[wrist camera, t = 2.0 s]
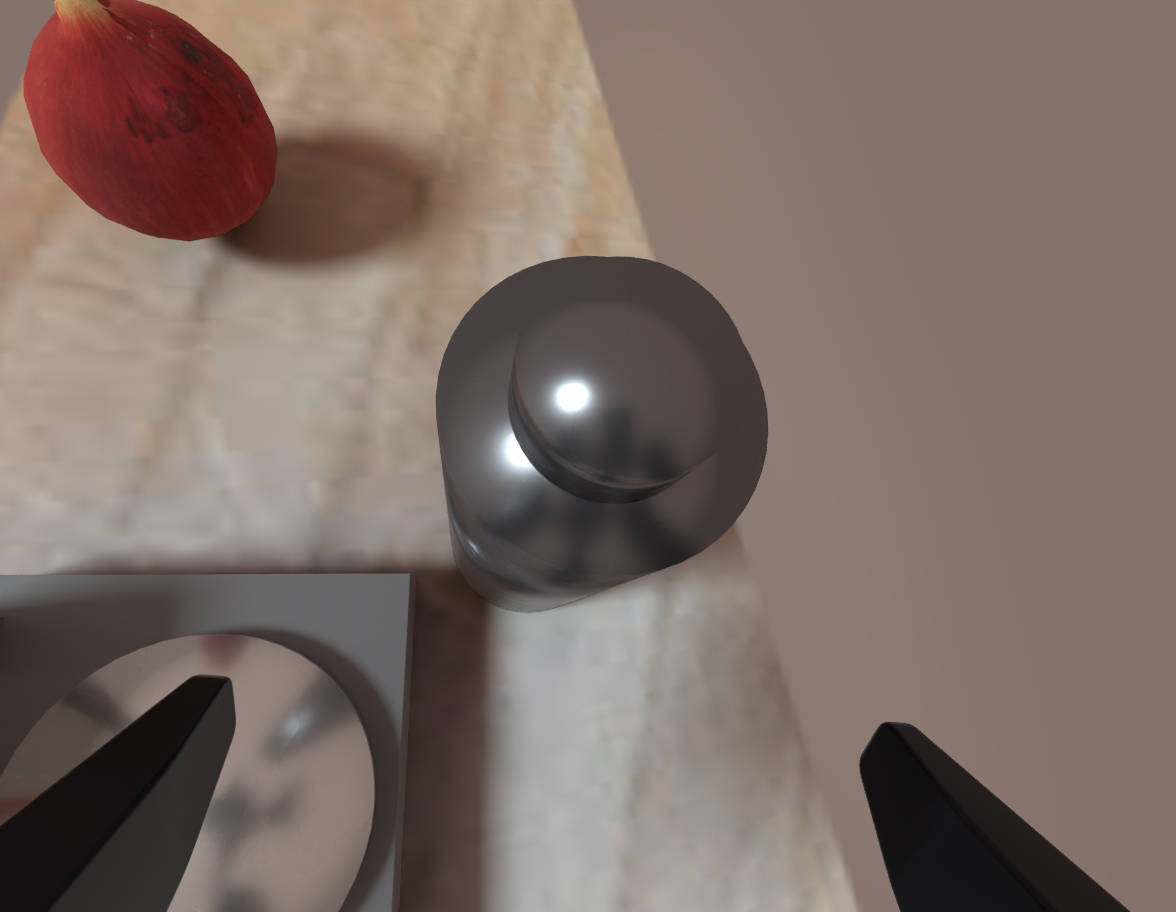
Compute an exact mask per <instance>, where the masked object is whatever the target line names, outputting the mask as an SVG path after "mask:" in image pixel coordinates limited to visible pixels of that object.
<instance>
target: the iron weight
mask: <svg viewBox="0 0 1176 912" xmlns="http://www.w3.org/2000/svg"><path fill="white" fill-rule="evenodd" d="M436 419H437V427H438V436H439V444H440V452H441V460H442V469H443V477H444V485H445V494H446V502H447V510H448V518H449V527H450V535H451V543H452V549H453V555H454V558H455V561H456V564H457V566H458V569H459V571H460V573H461V575H462V576H463V578H464V579H465V581H466V582H467V583H468V585H469V586H470V587H471V588H472V589H473V590H474V591H475V592H476V593H477V594H478V595H479V596H481V597H482V598H483V599H485V600H486V601H488V602H489V603H491V604H494V605H496V606H498V607H500V608H503V609H506V610H510V611H515V612H525V613H531V612H541V611H545V610H550V609H552V608H555V607H558V606H561V605H564V604H566V603H569V602H572V601H575V600H578V599H580V598H583V597H586V596H589V595H592V594H594V593H597V592H600V591H603V590H606V589H608V588H611V587H614V586H617V585H620V584H622V583H625V582H628V581H631V580H634V579H636V578H639V577H642V576H645V575H648V574H650V573H653V572H656V571H659V570H662V569H664V568H667V567H670V566H672V565H675V564H678V563H681V562H683V561H685V560H687V559H688V558H690V557H692V556H694V555H696V554H698V553H700V552H701V551H703V550H704V549H705V548H707V547H708V546H709V545H711V544H712V543H713V542H715V541H716V540H717V539H719V538H720V537H721V536H722V535H723V534H724V533H725V532H726V531H727V530H728V529H729V528H730V527H731V526H732V525H733V523H734V522H735V521H736V519H737V518H738V517H739V515H740V514H741V513H742V511H743V510H744V509H745V507H746V505H747V504H748V502H749V500H750V498H751V496H752V494H753V492H754V491H755V488H756V486H757V483H758V480H759V478H760V475H761V472H762V469H763V464H764V460H765V455H766V451H767V438H768V420H767V408H766V403H765V396H764V391H763V388H762V385H761V382H760V378H759V375H758V372H757V370H756V368H755V365H754V363H753V361H752V358H751V356H750V354H749V352H748V351H747V349H746V347H745V345H744V344H743V342H742V339H741V337H740V335H739V333H738V330H737V328H736V326H735V325H734V323H733V321H732V320H731V318H730V316H729V315H728V313H727V312H726V311H725V309H724V308H723V307H722V306H721V304H720V303H719V302H718V301H717V300H716V299H715V298H714V297H713V295H712V294H711V293H709V292H708V291H707V290H706V289H705V288H703V287H702V286H701V285H700V284H699V283H697V282H696V281H694V280H693V279H691V278H690V277H689V276H687V275H685V274H683V273H681V272H680V271H678V270H676V269H674V268H671V267H669V266H666V265H664V264H661V263H658V262H654V261H651V260H647V259H641V258H635V257H598V256H579V257H567V258H561V259H556V260H551V261H547V262H543V263H540V264H537V265H534V266H531V267H528V268H526V269H524V270H522V271H520V272H518V273H516V274H514V275H512V276H510V277H508V278H506V279H505V280H503V281H502V282H500V283H499V284H497V285H496V286H494V287H493V288H491V289H490V290H489V291H488V292H487V293H486V294H485V295H484V296H482V297H481V298H480V299H479V300H478V301H477V302H476V303H475V304H474V305H473V307H472V308H471V309H470V310H469V311H468V312H467V314H466V315H465V316H464V317H463V319H462V320H461V322H460V324H459V325H458V327H457V328H456V330H455V332H454V333H453V335H452V337H451V339H450V342H449V344H448V346H447V348H446V351H445V353H444V356H443V360H442V363H441V367H440V371H439V375H438V383H437V391H436Z"/></svg>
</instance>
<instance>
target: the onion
mask: <svg viewBox="0 0 1176 912" xmlns="http://www.w3.org/2000/svg"><path fill="white" fill-rule="evenodd" d="M54 5H55V7H56V10H57V12H56V13H55V14H53V15H52V16H51V18H50V19H49V20H48V22H47V23H46V24H45V26H44V27H43V28H42V30H41V31H40V33H39V34H38V36H37V37H36V38H35V40H34V42H33V46H32V48H31V51H30V56H29V59H28V64H27V68H26V72H25V76H24V98H25V102H26V105H27V108H28V111H29V115H30V118H31V121H32V124H33V127H34V130H35V133H36V136H37V140H38V143H39V146H40V149H41V152H42V154H43V155H44V157H45V158H46V160H47V161H48V163H49V164H50V166H51V167H52V169H53V170H54V171H55V173H56V174H57V175H58V176H59V177H60V178H61V179H62V180H63V181H64V182H65V183H66V184H67V185H68V186H69V187H70V188H71V189H72V190H73V191H74V192H75V193H76V194H77V195H78V196H79V197H80V198H81V199H82V200H83V201H84V202H85V203H86V204H87V205H88V206H89V207H91V208H92V209H94V210H95V211H97V212H98V213H99V214H101V215H102V216H104V217H105V218H107V219H109V220H111V221H114V222H116V223H119V224H121V225H124V226H126V227H128V228H131V229H133V230H136V231H138V232H140V233H143V234H147V235H150V236H154V237H158V238H166V239H174V240H183V241H194V240H199V239H204V238H209V237H215V236H220V235H223V234H224V233H226V232H228V231H230V230H232V229H233V228H235V227H237V226H239V225H241V224H242V223H244V222H246V221H248V220H249V219H250V218H251V217H252V216H253V215H254V213H255V212H256V211H257V210H258V208H259V207H260V206H261V205H262V203H263V202H264V201H265V200H266V198H267V197H268V195H269V193H270V190H271V188H272V185H273V183H274V175H275V167H276V159H277V145H276V139H275V133H274V127H273V125H272V123H271V121H270V119H269V117H268V115H267V113H266V111H265V109H264V107H263V105H262V103H261V101H260V99H259V97H258V95H257V93H256V91H255V89H254V87H253V85H252V83H251V81H250V79H249V77H248V75H247V74H246V73H245V72H244V71H243V70H242V69H241V68H240V67H239V66H238V64H237V63H236V62H235V61H234V60H233V59H232V58H231V57H230V56H228V55H227V54H226V53H225V52H223V51H222V50H221V49H220V48H218V47H217V46H216V45H215V44H213V43H212V42H211V41H209V40H208V39H207V38H206V37H205V36H203V35H202V34H201V33H200V32H199V31H198V30H196V29H195V28H194V27H193V26H192V25H190V24H189V23H187V22H186V21H184V20H182V19H181V18H179V17H178V16H176V15H174V14H172V13H170V12H168V11H166V10H164V9H162V8H159V7H156V6H153V5H150V4H146V3H143V2H140V1H136V0H55V3H54Z"/></svg>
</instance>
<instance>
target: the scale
mask: <svg viewBox="0 0 1176 912" xmlns="http://www.w3.org/2000/svg"><path fill="white" fill-rule="evenodd" d="M416 583H417V581H416V580H415V579H414V578H413V576H412V575H411V574H410V573H375V574H149V575H0V777H1V775H2V773H3V772H4V770H5V768H6V766H7V764H8V763H9V761H10V759H11V757H12V755H13V754H14V752H15V751H16V750H17V748H18V747H19V745H20V744H21V743H22V741H23V740H24V738H25V737H26V736H27V734H28V733H29V731H30V730H31V729H32V728H33V727H34V726H35V724H36V723H37V722H38V721H39V720H40V719H41V718H42V717H43V715H44V714H45V713H46V712H47V711H48V710H49V709H50V708H51V707H52V706H53V705H54V704H55V703H56V702H57V701H59V700H60V699H61V698H62V697H63V696H64V695H65V694H66V693H67V692H68V691H69V690H71V689H72V688H73V687H75V686H76V685H77V684H79V683H80V682H82V681H83V680H84V679H86V678H87V677H88V676H90V675H91V674H92V673H94V672H96V671H97V670H99V669H101V668H103V667H104V666H106V665H108V664H109V663H111V662H113V661H114V660H116V659H118V658H121V657H123V656H125V655H127V654H130V653H132V652H134V651H136V650H138V649H141V648H144V647H147V646H150V645H153V644H156V643H159V642H162V641H166V640H171V639H176V638H181V637H186V636H193V635H206V634H230V635H246V636H252V637H258V638H264V639H268V640H271V641H274V642H277V643H280V644H283V645H286V646H288V647H290V648H292V649H294V650H297V651H299V652H301V653H303V654H305V655H306V656H308V657H309V658H311V659H312V660H314V661H315V662H317V663H318V664H320V665H321V666H322V667H323V668H324V669H325V670H327V671H328V672H329V673H330V674H331V675H332V676H333V677H334V678H335V679H336V680H337V681H338V682H339V683H340V685H341V686H342V687H343V688H344V689H345V691H346V692H347V693H348V694H349V696H350V697H351V699H352V701H353V702H354V704H355V706H356V707H357V709H358V711H359V713H360V715H361V717H362V719H363V722H364V724H365V727H366V729H367V731H368V734H369V738H370V742H371V746H372V750H373V753H374V761H375V769H376V806H375V814H374V822H373V827H372V831H371V835H370V839H369V843H368V847H367V850H366V853H365V855H364V858H363V861H362V864H361V866H360V869H359V872H358V874H357V876H356V878H355V881H354V883H353V885H352V887H351V889H350V891H349V893H348V895H347V897H346V899H345V901H344V903H343V905H342V906H341V908H340V909H339V911H338V912H399V908H400V889H401V870H402V850H403V831H404V812H405V793H406V774H407V755H408V736H409V717H410V697H411V678H412V659H413V640H414V621H415V602H416Z"/></svg>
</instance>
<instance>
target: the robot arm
mask: <svg viewBox="0 0 1176 912" xmlns="http://www.w3.org/2000/svg"><path fill="white" fill-rule="evenodd" d="M235 728H236V712H235V703H234V693H233V685H232V681H231V679H230V678H229V677H227V676H220V675H206V674H198V675H194V676H192V677H190V678H189V679H187V680H186V681H184V682H183V683H182V684H181V685H179V686H178V687H177V688H176V689H174V690H173V691H172V692H170V693H169V694H168V695H167V696H165V697H164V698H163V699H161V700H160V701H159V702H158V703H156V704H155V705H154V706H152V707H151V708H150V709H149V710H147V711H146V712H145V713H143V714H142V715H141V716H140V717H138V718H137V719H136V720H135V721H133V722H132V723H131V724H129V725H128V726H127V727H126V728H124V729H123V730H122V731H120V732H119V733H118V734H117V735H115V736H114V737H113V738H111V739H110V740H109V741H108V742H106V743H105V744H104V745H102V746H101V747H100V748H99V749H97V750H96V751H95V752H94V753H92V754H91V755H90V756H88V757H87V758H86V759H85V760H83V761H82V762H81V763H79V764H78V765H77V766H76V767H74V768H73V769H72V770H70V771H69V772H68V773H67V774H65V775H64V776H63V777H61V778H60V779H59V780H58V781H56V782H55V783H54V784H53V785H51V786H50V787H49V788H47V789H46V790H45V791H44V792H42V793H41V794H40V795H38V796H37V797H36V798H35V799H33V800H32V801H31V802H29V803H28V804H27V805H26V806H24V807H23V808H22V809H20V810H19V811H18V812H17V813H15V814H14V815H13V816H12V817H10V818H9V819H8V820H6V821H5V822H4V823H3V824H1V825H0V912H167V910H168V908H169V906H170V904H171V902H172V900H173V897H174V895H175V893H176V891H177V889H178V887H179V884H180V882H181V880H182V878H183V875H184V873H185V871H186V868H187V866H188V863H189V861H190V858H191V855H192V853H193V850H194V847H195V845H196V842H197V839H198V836H199V833H200V830H201V828H202V825H203V822H204V819H205V816H206V813H207V811H208V808H209V805H210V802H211V799H212V796H213V794H214V791H215V788H216V785H217V782H218V780H219V777H220V774H221V771H222V768H223V765H224V763H225V760H226V757H227V754H228V751H229V748H230V746H231V743H232V740H233V737H234V733H235ZM859 766H860V775H861V779H862V782H863V786H864V790H865V793H866V797H867V800H868V804H869V808H870V811H871V815H872V819H873V822H874V826H875V830H876V833H877V837H878V841H879V845H880V848H881V852H882V856H883V859H884V863H885V866H886V870H887V873H888V876H889V879H890V883H891V886H892V889H893V892H894V895H895V898H896V901H897V903H898V906H899V909H900V911H901V912H1130V911H1129V910H1128V909H1126V907H1124V906H1123V905H1122V904H1121V903H1120V902H1119V901H1117V900H1116V899H1115V898H1114V897H1112V896H1111V895H1110V894H1109V893H1108V892H1107V891H1106V890H1105V889H1103V888H1102V887H1101V886H1100V885H1099V884H1098V883H1096V882H1095V881H1094V880H1093V879H1092V878H1091V877H1089V876H1088V875H1087V874H1086V873H1085V872H1084V871H1082V870H1081V869H1080V868H1079V867H1078V866H1077V865H1075V864H1074V863H1073V862H1072V861H1070V859H1068V858H1067V857H1066V856H1065V855H1064V854H1062V853H1061V852H1060V851H1059V850H1058V849H1057V848H1056V847H1055V846H1053V845H1052V844H1051V843H1050V842H1049V841H1048V840H1046V839H1045V838H1044V837H1043V836H1042V835H1041V834H1039V833H1038V832H1037V831H1036V830H1035V829H1034V828H1032V827H1031V826H1030V825H1029V824H1028V823H1026V822H1025V821H1024V820H1023V819H1022V818H1021V817H1020V816H1018V815H1017V814H1016V813H1015V812H1014V811H1013V810H1011V809H1010V808H1009V807H1008V806H1007V805H1005V804H1004V803H1003V802H1002V801H1001V800H1000V799H999V798H997V797H996V796H995V795H994V794H993V793H992V792H990V791H989V790H988V789H987V788H986V787H984V786H983V785H982V784H981V783H980V782H979V781H978V780H976V779H975V778H974V777H973V776H972V775H971V774H969V773H968V772H967V771H966V770H965V769H964V768H962V767H961V766H960V765H959V764H958V763H956V762H955V761H954V760H953V759H952V758H951V757H950V756H948V755H947V754H946V753H945V752H944V751H943V750H941V749H940V748H939V747H938V746H937V745H935V744H934V743H933V742H932V741H931V740H930V739H929V738H928V737H926V736H925V735H924V734H923V733H922V732H921V731H919V730H918V729H917V728H916V727H914V726H912V725H910V724H907V723H897V722H884V723H882V724H881V725H880V726H879V727H878V728H877V730H876V732H875V733H874V735H873V736H872V738H871V740H870V741H869V743H868V745H867V746H866V748H865V750H864V751H863V753H862V755H861V758H860V765H859Z"/></svg>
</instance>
